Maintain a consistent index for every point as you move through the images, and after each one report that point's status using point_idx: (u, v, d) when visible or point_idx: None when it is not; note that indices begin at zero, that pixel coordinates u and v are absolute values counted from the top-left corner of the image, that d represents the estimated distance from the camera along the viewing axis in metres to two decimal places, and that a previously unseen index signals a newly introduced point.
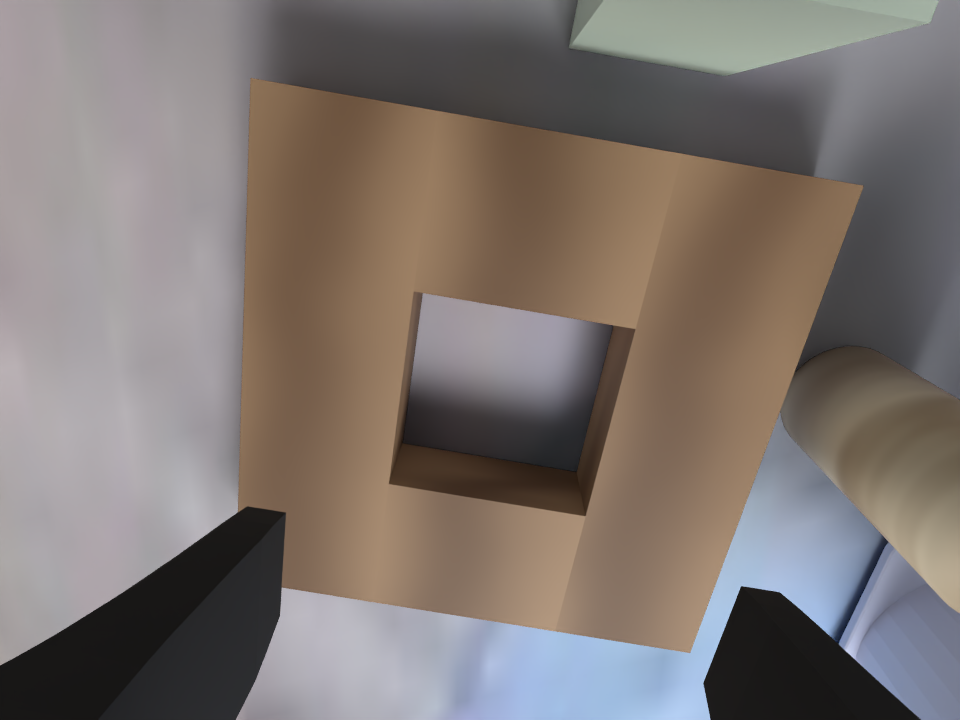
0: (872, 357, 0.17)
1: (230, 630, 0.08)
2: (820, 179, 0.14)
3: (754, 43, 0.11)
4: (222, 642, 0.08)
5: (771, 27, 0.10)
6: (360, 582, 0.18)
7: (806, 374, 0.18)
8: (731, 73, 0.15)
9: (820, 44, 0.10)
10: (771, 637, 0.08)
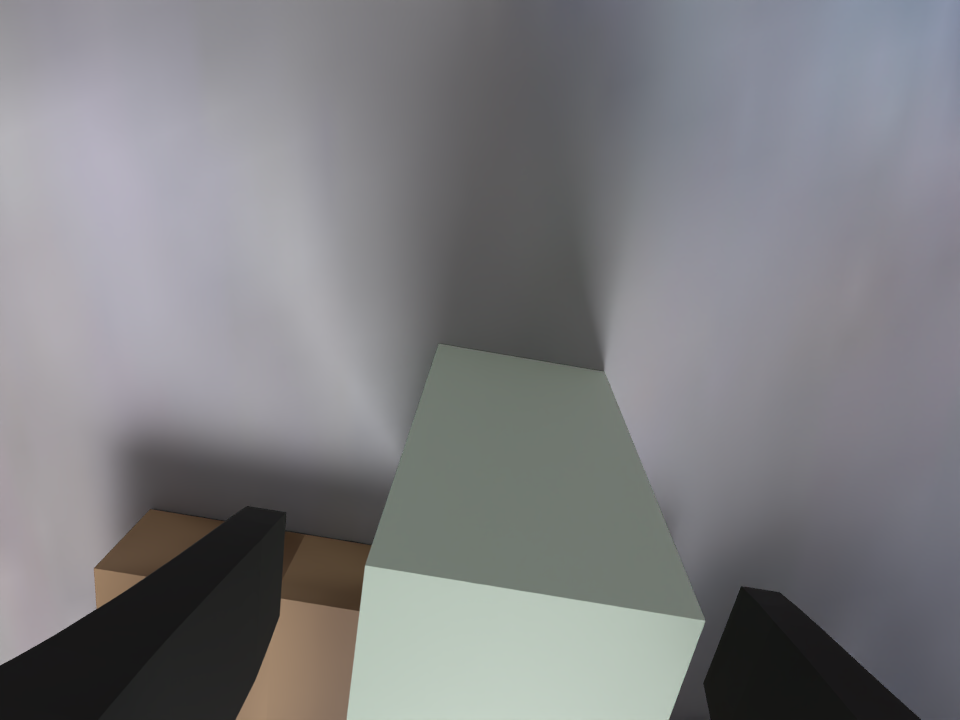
0: None
1: (230, 630, 0.08)
2: None
3: None
4: (222, 643, 0.08)
5: None
6: None
7: None
8: None
9: None
10: (771, 637, 0.08)
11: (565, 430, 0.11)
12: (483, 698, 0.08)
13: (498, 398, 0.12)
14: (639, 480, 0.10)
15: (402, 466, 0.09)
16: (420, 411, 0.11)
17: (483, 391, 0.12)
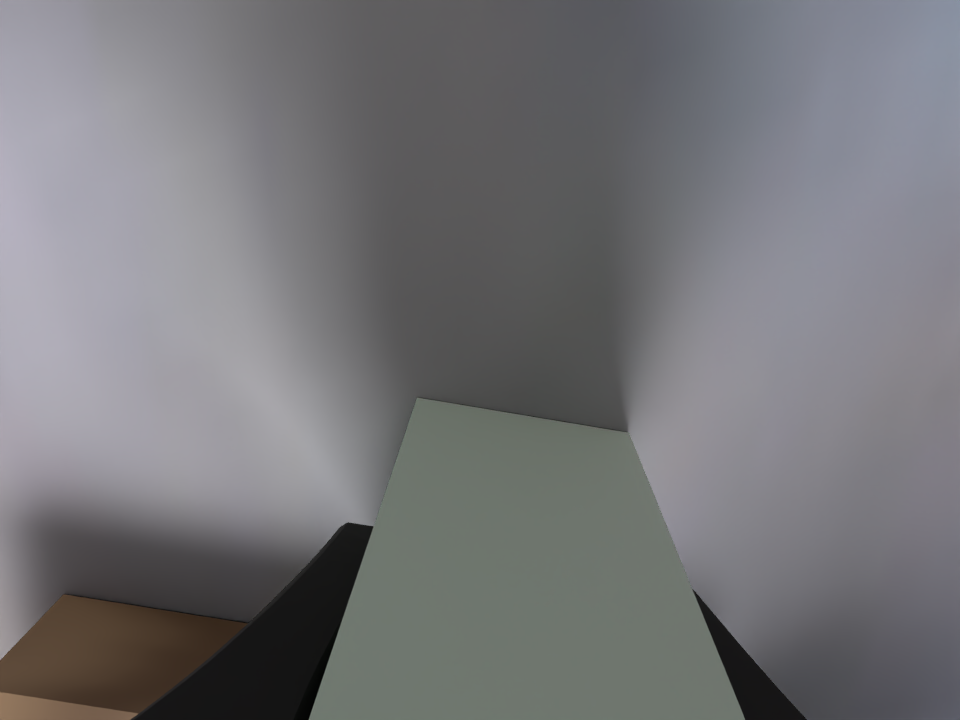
0: None
1: None
2: None
3: None
4: None
5: None
6: None
7: None
8: None
9: None
10: None
11: (585, 539, 0.08)
12: None
13: (493, 487, 0.09)
14: (697, 635, 0.07)
15: (343, 635, 0.06)
16: (382, 518, 0.08)
17: (472, 475, 0.09)
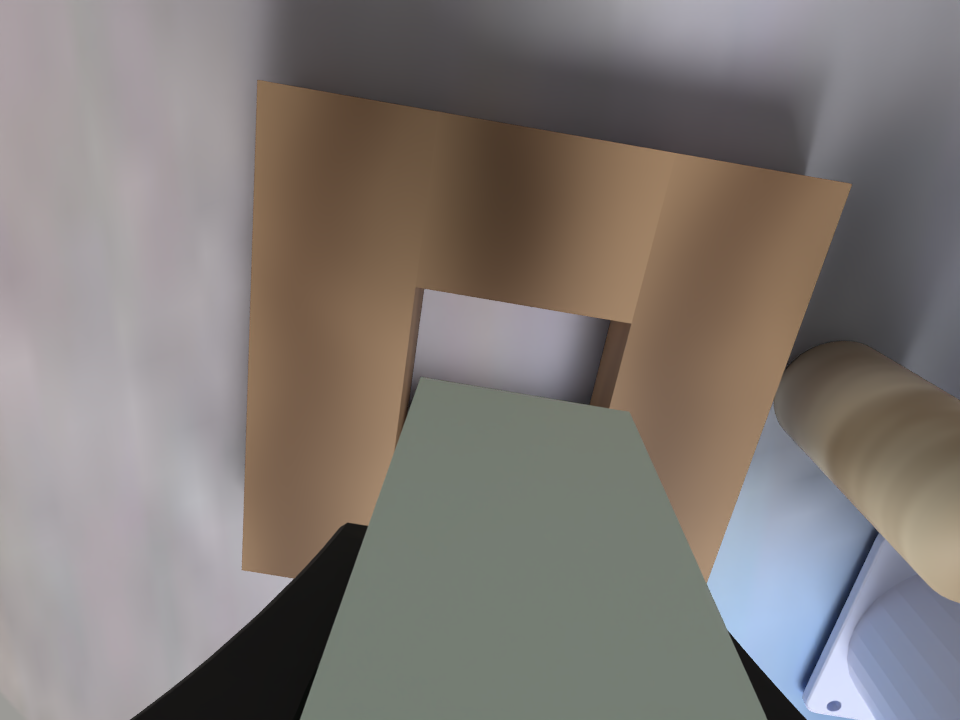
0: (862, 351, 0.17)
1: None
2: (810, 177, 0.14)
3: None
4: None
5: None
6: None
7: (798, 368, 0.18)
8: None
9: None
10: None
11: (587, 507, 0.08)
12: None
13: (496, 458, 0.09)
14: (698, 594, 0.07)
15: (353, 588, 0.06)
16: (388, 484, 0.08)
17: (476, 447, 0.09)
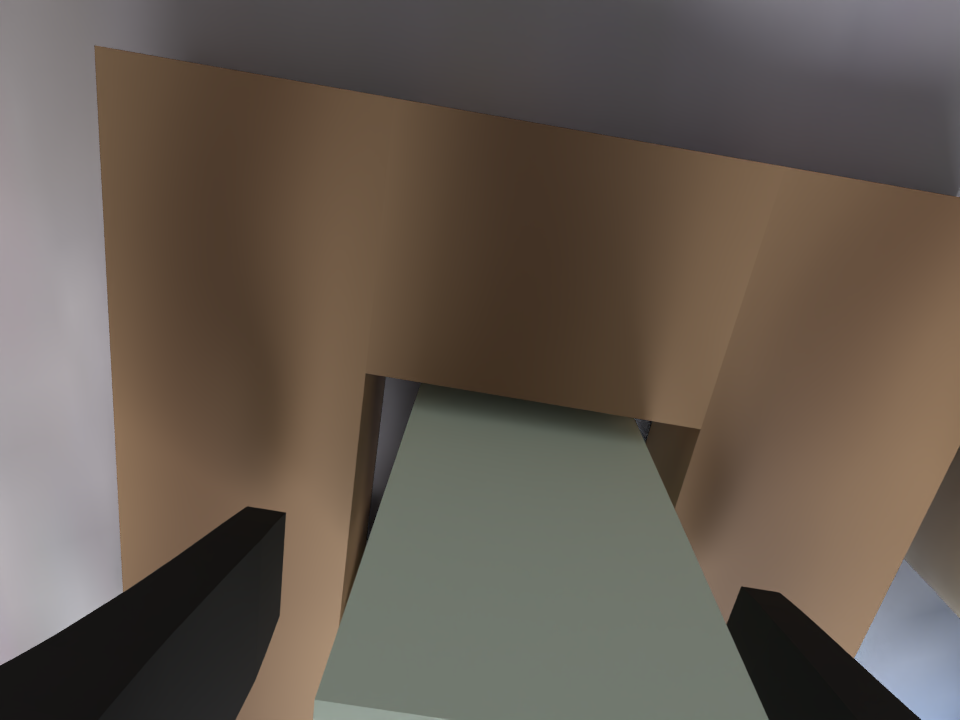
0: None
1: (230, 630, 0.08)
2: None
3: None
4: (222, 643, 0.08)
5: None
6: None
7: None
8: None
9: None
10: (771, 637, 0.08)
11: (580, 470, 0.09)
12: None
13: (498, 429, 0.10)
14: (676, 540, 0.08)
15: (376, 532, 0.07)
16: (403, 450, 0.09)
17: (480, 420, 0.10)
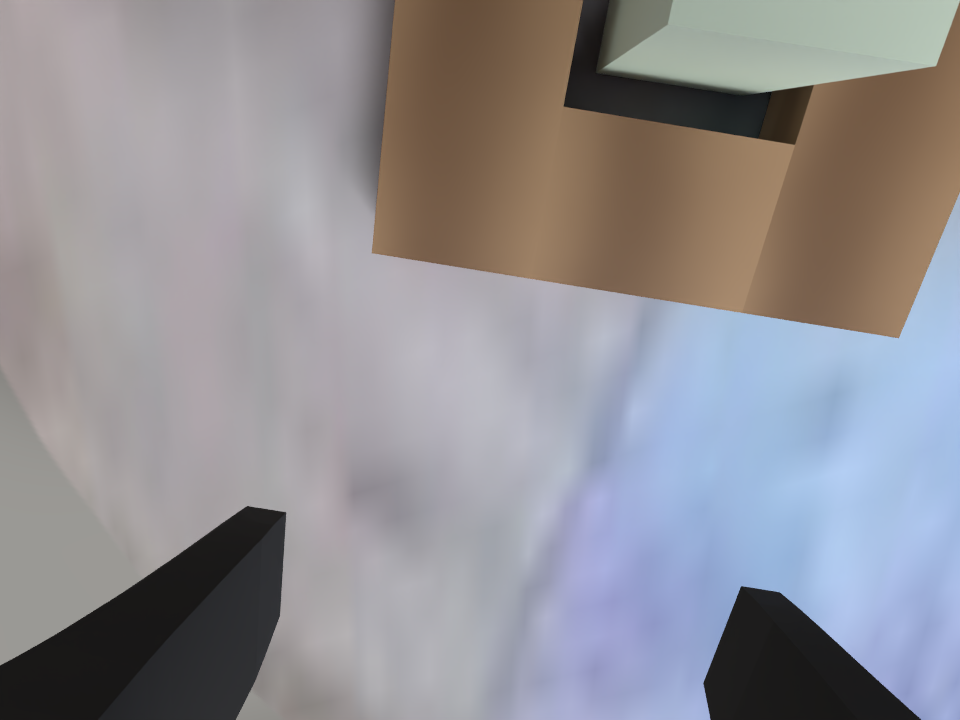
0: None
1: (230, 630, 0.08)
2: None
3: (774, 74, 0.12)
4: (223, 643, 0.08)
5: (791, 64, 0.11)
6: (518, 251, 0.16)
7: None
8: (748, 93, 0.16)
9: (835, 77, 0.11)
10: (771, 637, 0.08)
11: None
12: None
13: None
14: None
15: None
16: None
17: None
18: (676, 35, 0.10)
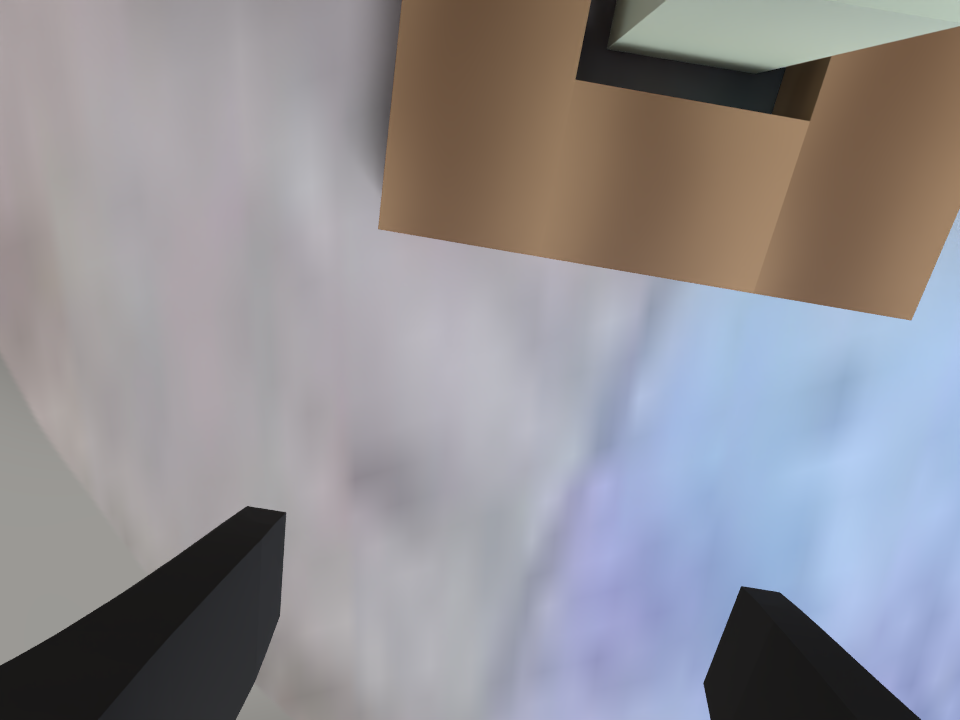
0: None
1: (230, 630, 0.08)
2: None
3: (793, 43, 0.12)
4: (223, 642, 0.08)
5: (814, 29, 0.11)
6: (527, 228, 0.16)
7: None
8: (762, 71, 0.16)
9: (857, 44, 0.11)
10: (771, 637, 0.08)
11: None
12: None
13: None
14: None
15: None
16: None
17: None
18: None
